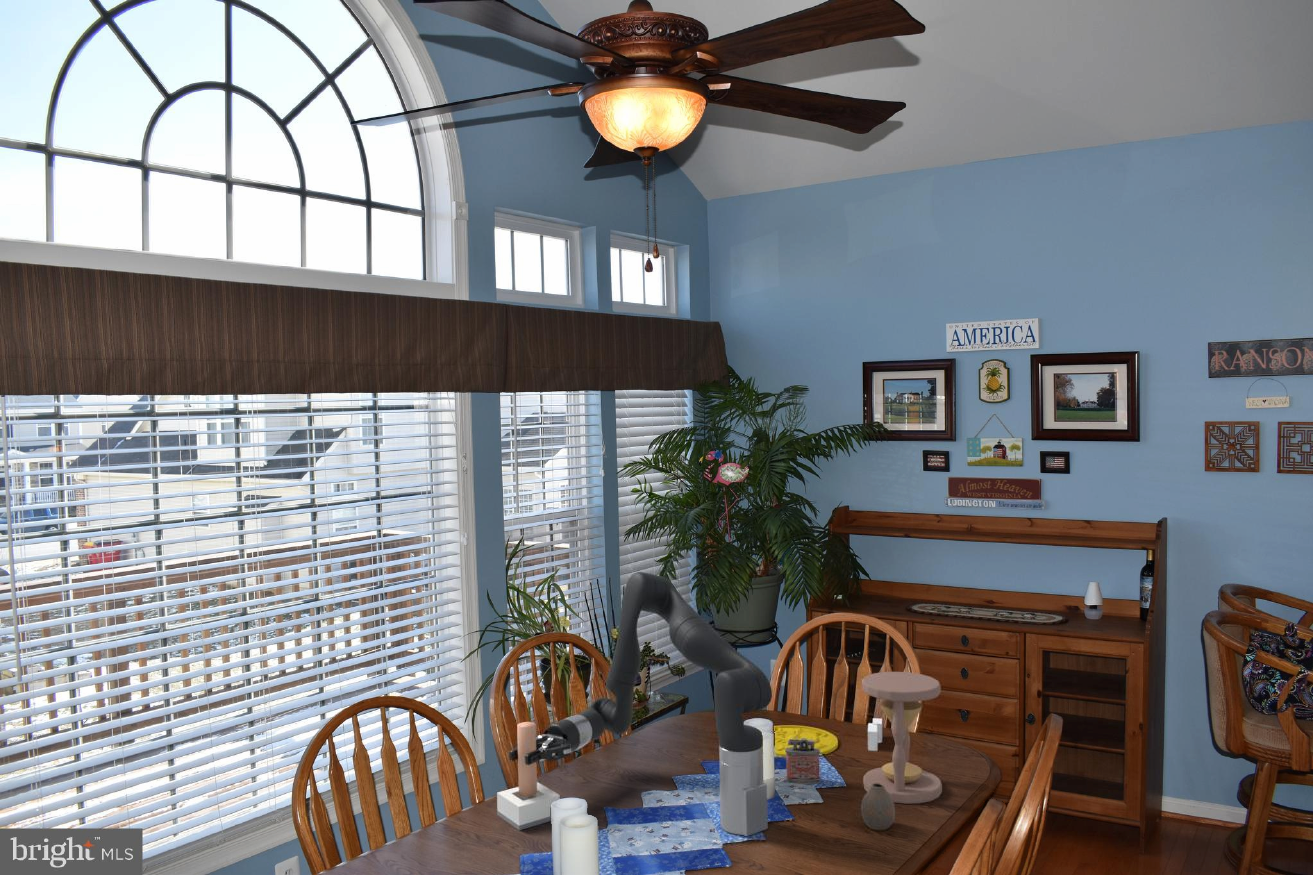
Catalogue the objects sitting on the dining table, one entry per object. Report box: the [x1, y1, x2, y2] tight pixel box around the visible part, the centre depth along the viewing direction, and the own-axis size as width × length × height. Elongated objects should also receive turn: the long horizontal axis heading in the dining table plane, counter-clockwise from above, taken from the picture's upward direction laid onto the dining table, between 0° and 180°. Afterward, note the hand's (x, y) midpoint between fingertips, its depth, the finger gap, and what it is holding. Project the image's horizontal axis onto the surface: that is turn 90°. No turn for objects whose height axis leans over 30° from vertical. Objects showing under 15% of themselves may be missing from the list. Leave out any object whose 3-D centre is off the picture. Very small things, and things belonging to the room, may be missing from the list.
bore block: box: [496, 781, 561, 831], centre depth 209 cm, size 10×10×5 cm
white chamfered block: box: [867, 717, 883, 752], centre depth 252 cm, size 15×11×6 cm
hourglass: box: [861, 671, 943, 805], centre depth 221 cm, size 18×18×25 cm
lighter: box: [785, 738, 821, 785], centre depth 227 cm, size 8×3×10 cm, turn 84°
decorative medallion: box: [773, 724, 839, 758], centre depth 254 cm, size 24×24×2 cm
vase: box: [860, 783, 896, 831], centre depth 201 cm, size 7×7×9 cm
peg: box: [516, 721, 538, 796], centre depth 209 cm, size 4×4×15 cm
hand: (518, 758), depth 207 cm, fingers closed on peg, 4 cm apart
